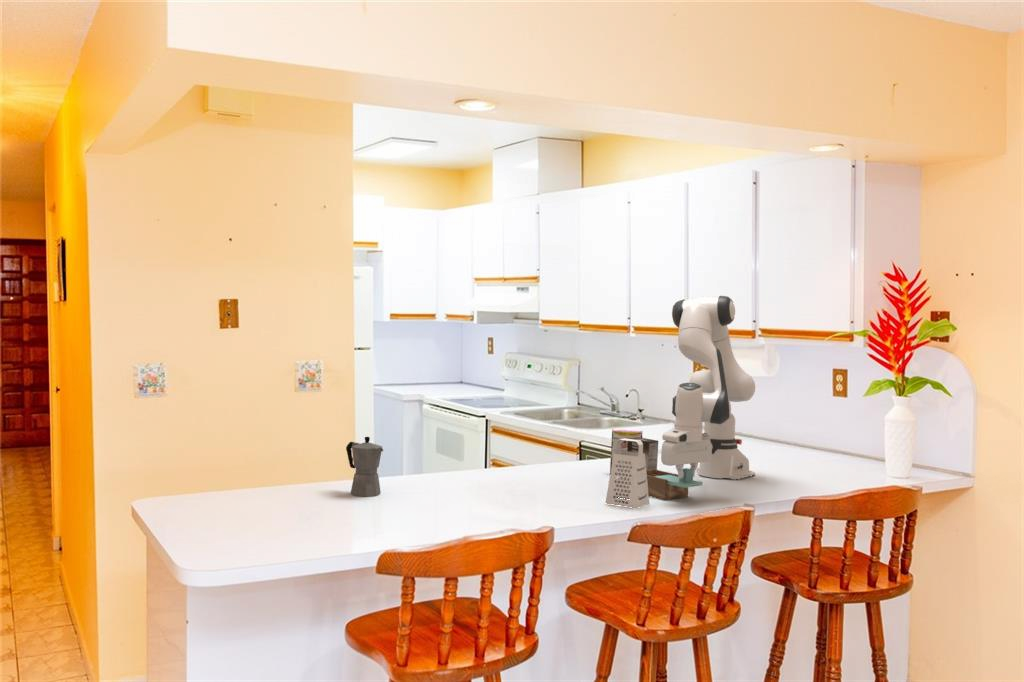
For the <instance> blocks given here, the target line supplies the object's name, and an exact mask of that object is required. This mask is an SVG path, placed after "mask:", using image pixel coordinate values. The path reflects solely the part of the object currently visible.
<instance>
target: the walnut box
mask: <svg viewBox="0 0 1024 682" xmlns="http://www.w3.org/2000/svg"><path fill="white" fill-rule="evenodd" d="M646 472H647V483H648V495H649V497H650V496H652V497H651V498H654V497H656V498H655V499H658V498H659V500H663V501H667V500H675V499H676V500H677V499H681V498H688V497H689V487H687V488H683V487H679V486H675V485H670V484H667V479H662V478H658V477H655V476H663V475H673V476H677V477H678V473H674V472H668V471H663V470H659V469H657V470H656V469H649V470H646Z"/></svg>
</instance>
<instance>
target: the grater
mask: <svg viewBox="0 0 1024 682" xmlns="http://www.w3.org/2000/svg"><path fill="white" fill-rule="evenodd" d="M622 440H626V441H635V442H637V443H638V445H639V451H638V453H637V452H628V451H621V441H622ZM619 465H620V466H619ZM616 466H618V467H616ZM608 480H609V481H608V487H607V491H606V496H605V503H607V504H614V505H621V506H627V507H632V508H638V507H640V508H642V507H644V506H643V505H645V504H647V503H649V504H650V498H649V497H650V496H649V495H648V483H647V472H646V461H645V453H643V443H642V442H641V440H634V439H625V438H624V439H620V440H619V441H618V442H617V444H616V453H615V454H614V456H613V461H612V467H611V473H610V472H609V479H608ZM618 497H619V499H617V498H618ZM620 498H623V499H620ZM624 498H625V499H626V500H624ZM627 499H630V500H627ZM619 501H620V502H619ZM623 502H624V503H623ZM626 502H627V503H626ZM605 503H604V504H605ZM647 505H648V504H647ZM641 506H642V507H641ZM645 506H646V505H645ZM632 508H631V509H632ZM638 509H639V508H638Z"/></svg>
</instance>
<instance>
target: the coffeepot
mask: <svg viewBox="0 0 1024 682" xmlns="http://www.w3.org/2000/svg"><path fill="white" fill-rule="evenodd" d="M370 439H371V437H370V436H365V437H364V442H362V443H361V442H355V441H350V442H348V443H347V445H346V447H345V451H346V454H347V458H348V463H349V467H350V468H352V469H355V473H354V474H353V480H352V485H351V489H350V494H351V495H352V496H354V497H359V498H361V497H362V498H371V497H377V496H379V495H380V494H381V487H380V486H381V485H380V479H379V474H378V468H379V467H380V461H381V457H382V456H381V455H382V452H383V451H384V448H383V445H382V446H381V445H380V444H376V443H373V442H370Z"/></svg>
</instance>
